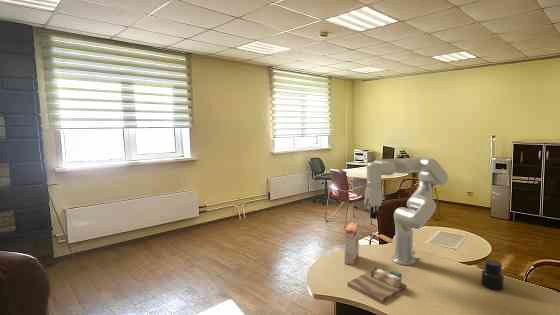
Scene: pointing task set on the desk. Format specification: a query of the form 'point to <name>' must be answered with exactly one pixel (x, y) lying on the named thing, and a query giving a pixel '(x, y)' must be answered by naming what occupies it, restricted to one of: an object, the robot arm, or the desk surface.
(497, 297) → the desk surface
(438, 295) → the desk surface
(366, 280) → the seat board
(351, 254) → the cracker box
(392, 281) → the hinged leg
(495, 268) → the ink bottle
